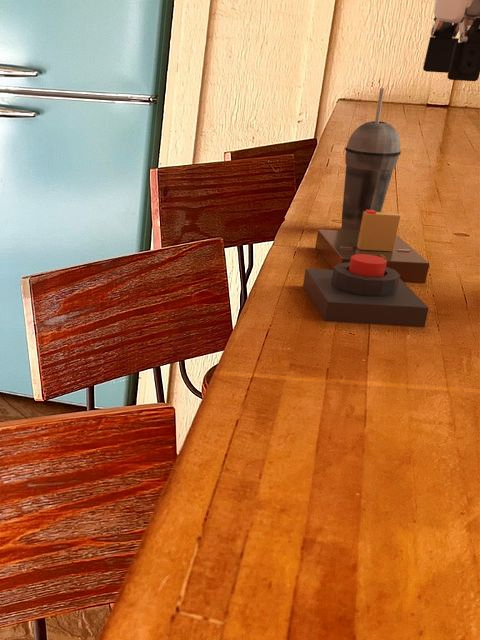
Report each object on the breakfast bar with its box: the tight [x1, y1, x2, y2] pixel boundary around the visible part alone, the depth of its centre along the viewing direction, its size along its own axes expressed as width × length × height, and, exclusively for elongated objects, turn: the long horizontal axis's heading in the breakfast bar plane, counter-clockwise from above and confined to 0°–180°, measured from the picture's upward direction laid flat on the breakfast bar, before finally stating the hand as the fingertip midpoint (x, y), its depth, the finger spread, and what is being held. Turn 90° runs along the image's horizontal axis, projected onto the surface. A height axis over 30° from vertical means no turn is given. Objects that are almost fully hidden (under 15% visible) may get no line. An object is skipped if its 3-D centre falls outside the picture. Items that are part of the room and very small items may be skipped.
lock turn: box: [357, 210, 401, 251], centre depth 108 cm, size 4×1×5 cm, turn 83°
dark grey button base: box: [302, 262, 430, 328], centre depth 96 cm, size 10×12×4 cm
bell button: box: [348, 254, 387, 277], centre depth 95 cm, size 4×4×2 cm
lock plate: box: [314, 229, 431, 284], centre depth 112 cm, size 10×14×3 cm
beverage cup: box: [340, 87, 401, 232], centre depth 124 cm, size 7×7×20 cm
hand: (448, 75), depth 105 cm, fingers open, 9 cm apart
